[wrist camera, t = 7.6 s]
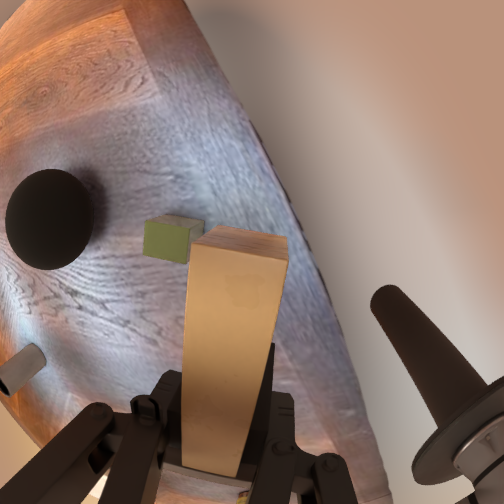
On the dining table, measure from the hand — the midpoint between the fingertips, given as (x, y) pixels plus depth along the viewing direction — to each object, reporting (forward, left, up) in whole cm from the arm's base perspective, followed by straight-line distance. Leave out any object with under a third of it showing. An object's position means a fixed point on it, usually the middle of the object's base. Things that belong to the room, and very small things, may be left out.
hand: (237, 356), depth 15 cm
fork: (0, +2, -1) cm, 2 cm away
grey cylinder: (+34, +21, -12) cm, 41 cm away
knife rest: (+8, -4, -12) cm, 15 cm away
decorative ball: (+21, -4, -12) cm, 25 cm away
